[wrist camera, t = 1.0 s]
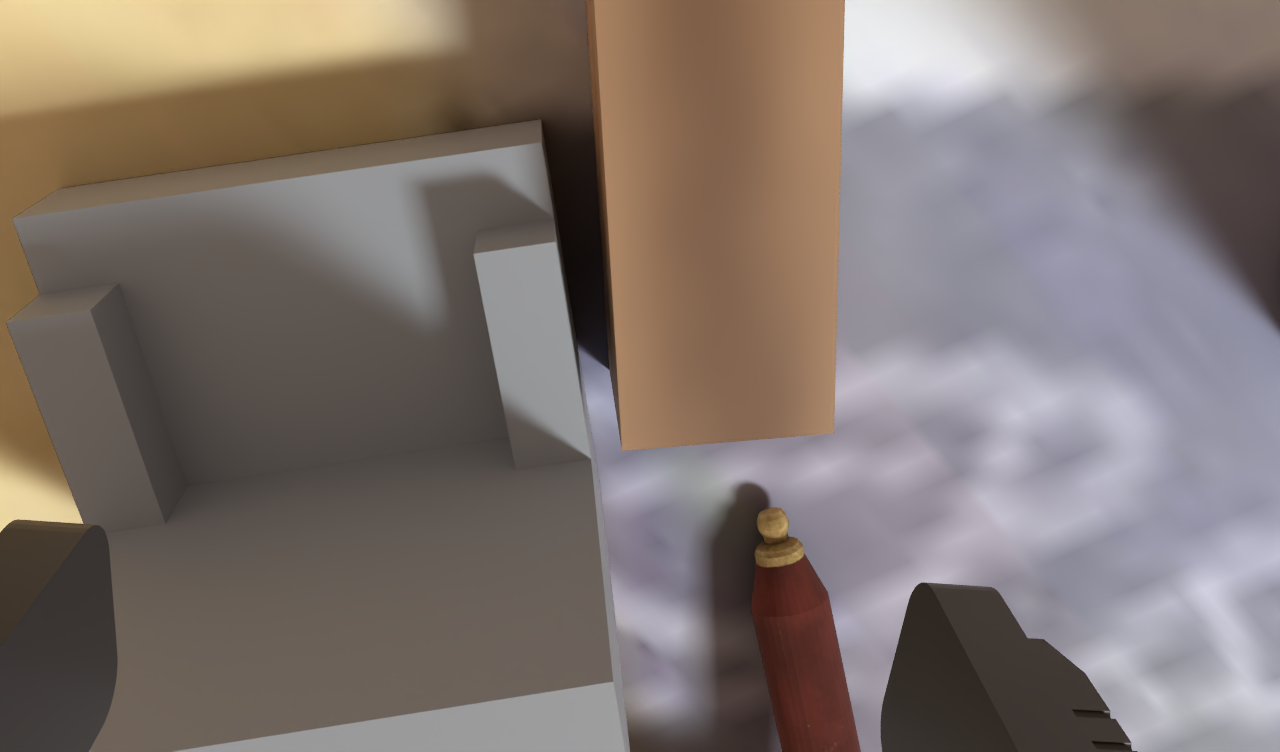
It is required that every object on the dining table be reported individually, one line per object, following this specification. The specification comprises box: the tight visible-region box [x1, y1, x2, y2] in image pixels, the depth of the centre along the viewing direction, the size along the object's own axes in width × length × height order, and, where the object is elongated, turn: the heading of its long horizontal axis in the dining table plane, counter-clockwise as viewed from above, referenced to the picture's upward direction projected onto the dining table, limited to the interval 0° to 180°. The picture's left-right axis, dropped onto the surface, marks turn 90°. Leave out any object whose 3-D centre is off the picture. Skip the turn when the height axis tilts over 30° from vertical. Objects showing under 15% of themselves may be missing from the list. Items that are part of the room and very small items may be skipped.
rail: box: [586, 0, 845, 451], centre depth 28 cm, size 6×20×6 cm, turn 3°
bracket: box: [6, 119, 630, 752], centre depth 27 cm, size 13×12×14 cm
